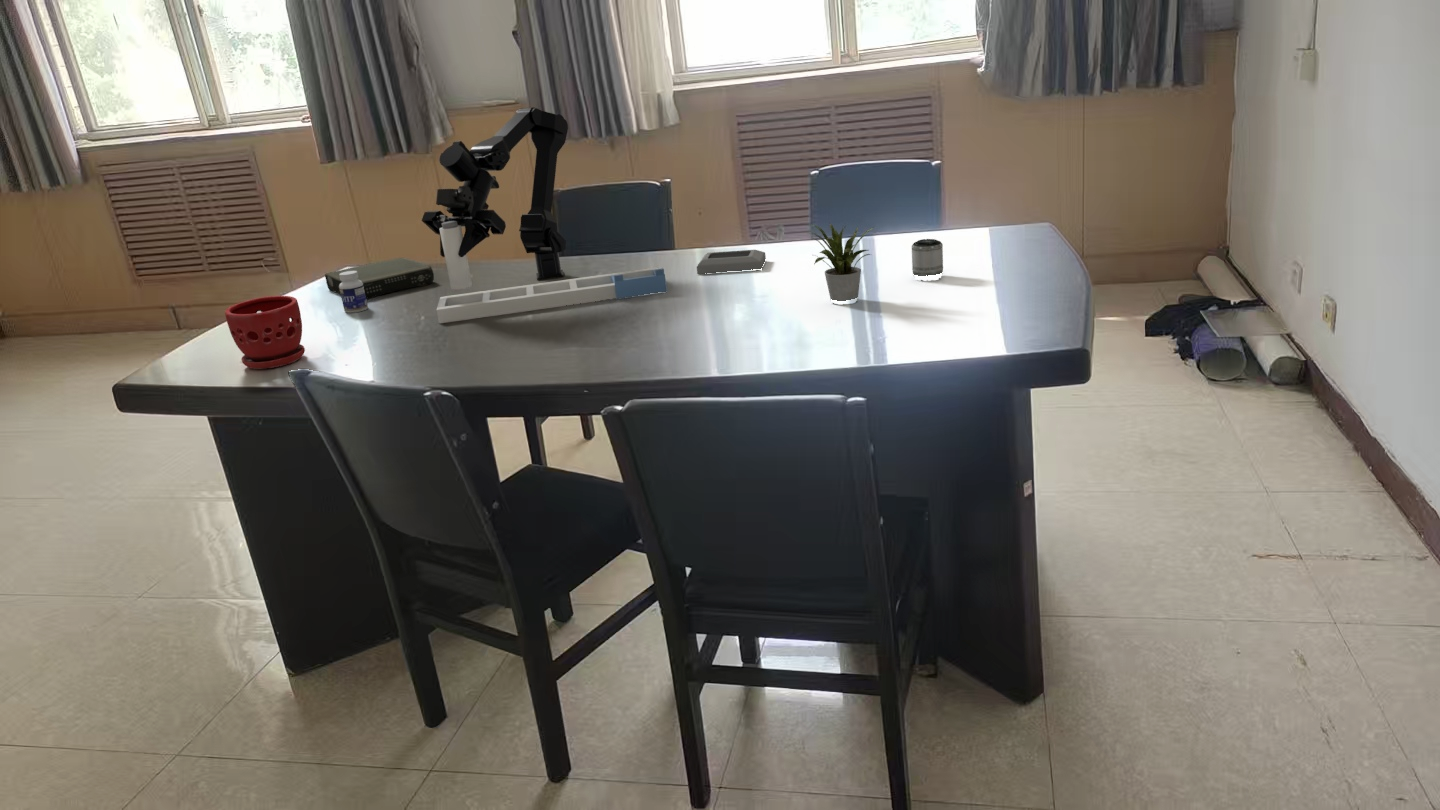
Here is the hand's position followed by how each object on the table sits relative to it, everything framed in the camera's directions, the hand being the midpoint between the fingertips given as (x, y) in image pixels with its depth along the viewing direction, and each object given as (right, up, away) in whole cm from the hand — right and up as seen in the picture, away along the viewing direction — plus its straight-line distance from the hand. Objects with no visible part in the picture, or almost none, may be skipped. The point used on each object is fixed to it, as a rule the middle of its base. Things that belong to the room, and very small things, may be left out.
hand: (451, 256), depth 215 cm
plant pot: (-30, -24, -17) cm, 42 cm away
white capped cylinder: (+1, -6, +4) cm, 7 cm away
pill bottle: (-27, -10, +19) cm, 34 cm away
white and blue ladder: (+20, -9, +8) cm, 24 cm away
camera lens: (+101, -5, -5) cm, 101 cm away
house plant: (+81, -11, -15) cm, 83 cm away
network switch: (-28, -2, +41) cm, 50 cm away
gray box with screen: (+60, 0, +22) cm, 64 cm away
